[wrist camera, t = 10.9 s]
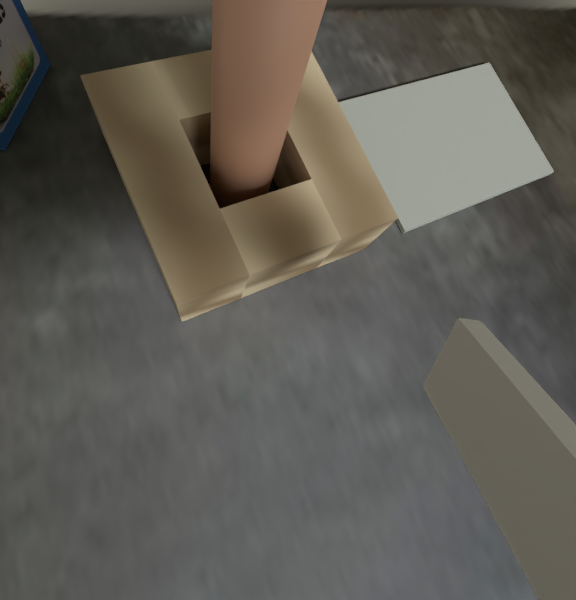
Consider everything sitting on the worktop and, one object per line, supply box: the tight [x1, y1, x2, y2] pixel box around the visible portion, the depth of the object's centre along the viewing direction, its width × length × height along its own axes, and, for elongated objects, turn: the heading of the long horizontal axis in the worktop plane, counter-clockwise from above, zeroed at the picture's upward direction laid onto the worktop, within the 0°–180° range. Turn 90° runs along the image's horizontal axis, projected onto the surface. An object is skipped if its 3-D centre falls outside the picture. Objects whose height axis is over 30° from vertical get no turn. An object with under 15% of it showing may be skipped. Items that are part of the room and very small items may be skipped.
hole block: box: [80, 50, 398, 322], centre depth 21 cm, size 12×12×4 cm
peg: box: [210, 0, 327, 208], centre depth 17 cm, size 3×3×14 cm
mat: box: [338, 63, 554, 234], centre depth 28 cm, size 14×10×1 cm
